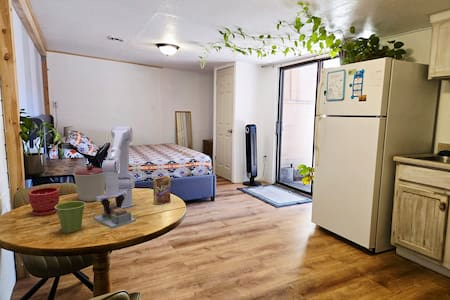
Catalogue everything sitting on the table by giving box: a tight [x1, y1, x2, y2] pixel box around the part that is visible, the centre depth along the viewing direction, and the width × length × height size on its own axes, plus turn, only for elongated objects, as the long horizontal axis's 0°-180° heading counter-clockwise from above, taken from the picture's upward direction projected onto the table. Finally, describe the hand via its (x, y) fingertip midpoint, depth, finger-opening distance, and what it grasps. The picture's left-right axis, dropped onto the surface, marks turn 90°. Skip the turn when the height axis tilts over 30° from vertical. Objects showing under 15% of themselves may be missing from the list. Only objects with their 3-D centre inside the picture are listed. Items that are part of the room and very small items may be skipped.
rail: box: [103, 203, 128, 219], centre depth 132 cm, size 14×4×5 cm, turn 50°
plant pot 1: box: [28, 186, 60, 216], centre depth 141 cm, size 13×13×12 cm
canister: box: [72, 164, 106, 202], centre depth 164 cm, size 18×18×21 cm
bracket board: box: [92, 211, 137, 229], centre depth 132 cm, size 18×12×4 cm, turn 50°
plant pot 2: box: [55, 200, 87, 234], centre depth 120 cm, size 12×12×11 cm
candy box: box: [152, 175, 171, 206], centre depth 158 cm, size 9×4×15 cm, turn 123°
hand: (113, 212), depth 133 cm, fingers open, 5 cm apart
